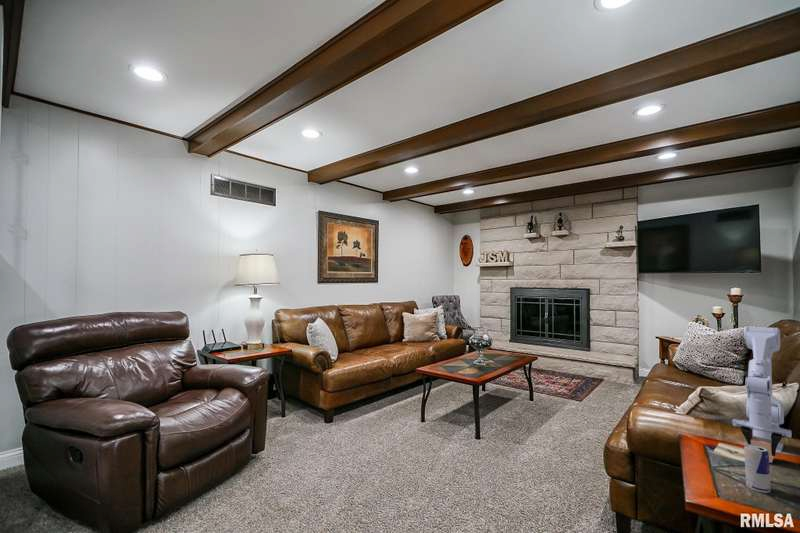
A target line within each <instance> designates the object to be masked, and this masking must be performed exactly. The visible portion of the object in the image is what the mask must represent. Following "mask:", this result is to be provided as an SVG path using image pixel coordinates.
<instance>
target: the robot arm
mask: <svg viewBox="0 0 800 533" xmlns="http://www.w3.org/2000/svg"><path fill="white" fill-rule="evenodd" d="M743 338H744V339H743V340H744V341H745V345H746V347H747V349H749V350H752V354H753V355H752V356H753V358H752V359H751V360H749V361H748V369H747V371H748V372H747V376H746V377H745V382H744V383H745V391H746V396H747V398H746V405H745V406H746V409H745V410H746V412H745V413H746V416H747V418H749V419H748V420H742V419H735V418H733V419H732V426H733V427H740V432H741V434H743V436H744V439H745V440H746V442H747V443H746V444H751V438H752V437H753V436H756V437H760V438H765V439H769V440H771V441H772V456H774V457H775V456H776V453H782V450H783V448H784V444H783V443H781V440H782V439H783V436H784V437H786V438H790V439H791V438H792V430H791V429H786V428H783V427H780V425H783V424H784V423H785V415H784V413H785V411H784V405H783V403H782V401H781V400H779V399H777V398H776V397H775V396H773V376H772V371H773V370H772V356H773V354H774V353H776V352H778V351H780V349H781V330H780V329H779V327H767V326H766V327H765V326H750V325H746V326H744V328H743Z"/></svg>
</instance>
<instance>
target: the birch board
mask: <svg viewBox="0 0 800 533" xmlns="http://www.w3.org/2000/svg"><path fill="white" fill-rule="evenodd" d="M711 454H713V455H717V456H720V457H725V458H729V459H732V460H737V461H740V462H742V463H743V462H744V463H745V453H744V447H740V446H735V445H731V444H728V443H723V442H719V443H718V444H717V446H716V447H715V448H714V450H713V451H712V452H711Z"/></svg>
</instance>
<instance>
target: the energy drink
mask: <svg viewBox="0 0 800 533" xmlns="http://www.w3.org/2000/svg"><path fill="white" fill-rule="evenodd" d="M743 448H744V453H745V462H744V466H745V467H744V470H745V485H746V487H747V488H748V489H750V490H752V491H755V492H757V493H761V494H769V493H770V492H771V487H772V486H771V472H770V471H771V470H770V462H769V453H768V450H767V449H766V448H764V447H762V446H758V445H753V444H748V443H746V444H745V445H744V447H743Z"/></svg>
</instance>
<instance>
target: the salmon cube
mask: <svg viewBox="0 0 800 533" xmlns="http://www.w3.org/2000/svg"><path fill="white" fill-rule="evenodd" d="M751 444H753V445H758V446H762V447H764V448H766V449H767V450H768V453H769V463H771V464H773V461H774V457H775V456H772V441H771V440H769V439H765V438H760V437H756V436H753V435H752V438H751Z"/></svg>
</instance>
